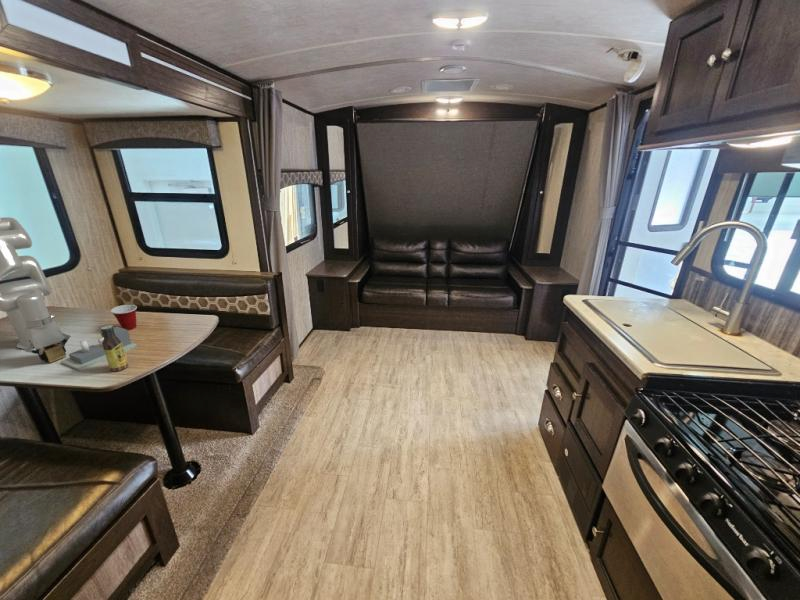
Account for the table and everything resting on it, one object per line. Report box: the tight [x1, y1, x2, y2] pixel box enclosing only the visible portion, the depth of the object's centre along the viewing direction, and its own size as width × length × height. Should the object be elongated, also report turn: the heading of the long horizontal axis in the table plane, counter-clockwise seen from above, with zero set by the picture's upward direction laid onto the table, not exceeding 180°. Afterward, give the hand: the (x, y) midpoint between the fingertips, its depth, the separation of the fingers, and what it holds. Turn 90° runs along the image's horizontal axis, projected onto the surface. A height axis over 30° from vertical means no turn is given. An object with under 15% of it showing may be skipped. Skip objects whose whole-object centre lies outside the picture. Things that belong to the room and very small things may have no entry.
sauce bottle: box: [100, 325, 129, 372], centre depth 139 cm, size 7×6×20 cm
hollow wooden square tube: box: [43, 343, 67, 363], centre depth 146 cm, size 6×6×6 cm
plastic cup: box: [110, 304, 138, 331], centre depth 175 cm, size 11×11×12 cm
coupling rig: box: [60, 326, 138, 372], centre depth 151 cm, size 14×23×9 cm, turn 157°
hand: (54, 357), depth 147 cm, fingers closed on hollow wooden square tube, 5 cm apart
